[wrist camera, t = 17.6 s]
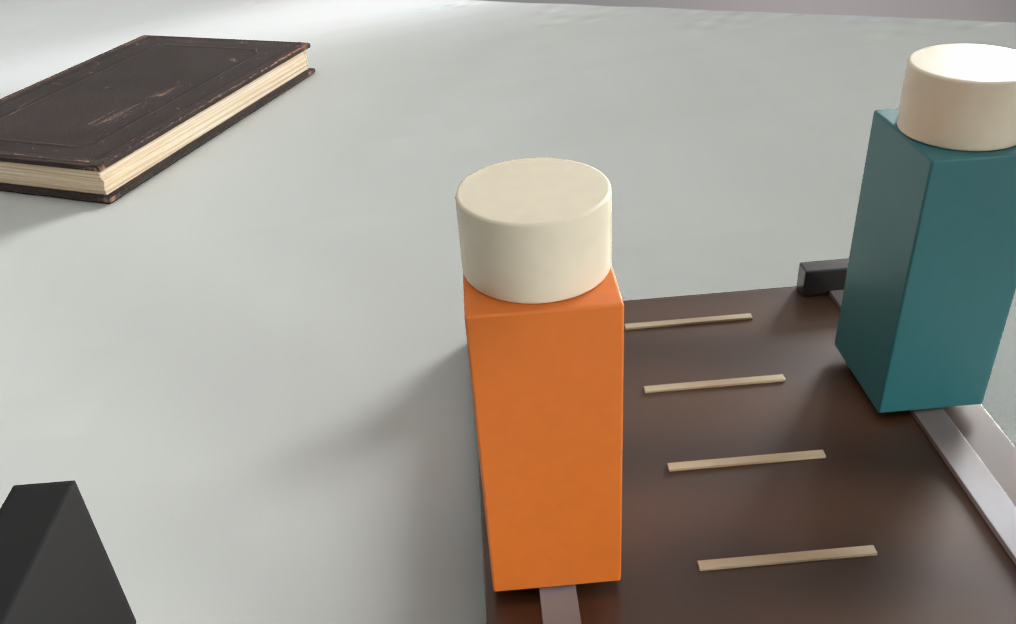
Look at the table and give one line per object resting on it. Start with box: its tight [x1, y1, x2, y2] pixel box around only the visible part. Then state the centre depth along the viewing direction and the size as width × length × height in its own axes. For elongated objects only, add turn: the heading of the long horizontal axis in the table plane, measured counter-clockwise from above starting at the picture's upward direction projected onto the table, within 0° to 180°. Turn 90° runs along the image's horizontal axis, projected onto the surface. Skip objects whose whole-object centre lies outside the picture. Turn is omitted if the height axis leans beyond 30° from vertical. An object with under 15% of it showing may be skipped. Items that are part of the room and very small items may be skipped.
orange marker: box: [455, 158, 624, 592], centre depth 23 cm, size 4×4×11 cm
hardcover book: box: [0, 35, 315, 203], centre depth 61 cm, size 16×23×2 cm
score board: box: [478, 258, 1016, 624], centre depth 28 cm, size 20×17×2 cm
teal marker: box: [835, 44, 1016, 413], centre depth 28 cm, size 4×4×11 cm
